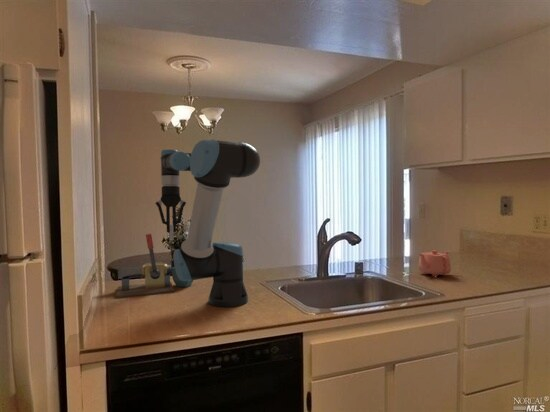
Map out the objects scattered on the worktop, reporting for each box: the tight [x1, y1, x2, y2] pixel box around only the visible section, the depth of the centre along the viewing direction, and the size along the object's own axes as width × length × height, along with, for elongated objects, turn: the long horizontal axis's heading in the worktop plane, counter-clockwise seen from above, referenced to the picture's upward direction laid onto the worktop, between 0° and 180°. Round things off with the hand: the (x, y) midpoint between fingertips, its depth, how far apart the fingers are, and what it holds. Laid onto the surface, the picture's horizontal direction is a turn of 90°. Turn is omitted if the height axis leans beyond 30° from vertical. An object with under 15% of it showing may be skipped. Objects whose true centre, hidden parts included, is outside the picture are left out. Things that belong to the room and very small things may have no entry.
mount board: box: [115, 281, 175, 299], centre depth 159 cm, size 16×23×1 cm
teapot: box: [418, 249, 452, 277], centre depth 185 cm, size 15×17×13 cm
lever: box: [145, 233, 160, 279], centre depth 155 cm, size 2×20×4 cm
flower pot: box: [171, 266, 194, 288], centre depth 167 cm, size 9×9×9 cm
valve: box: [117, 261, 172, 291], centre depth 160 cm, size 9×22×10 cm, turn 111°
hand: (171, 239), depth 158 cm, fingers closed
